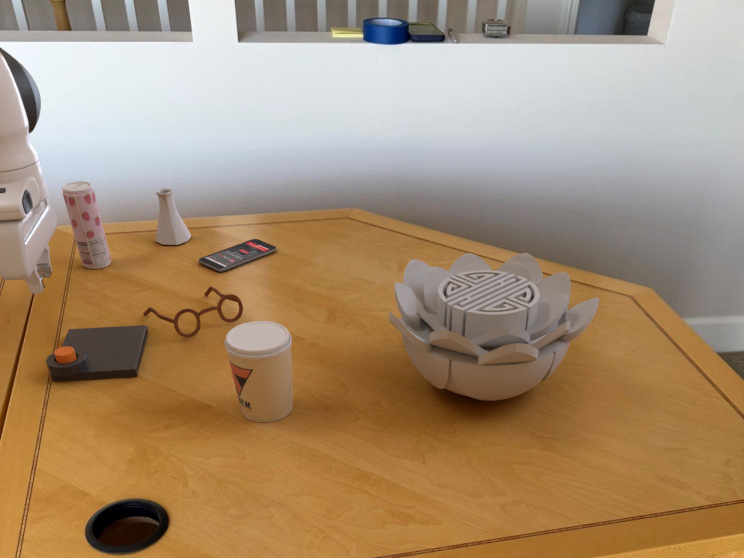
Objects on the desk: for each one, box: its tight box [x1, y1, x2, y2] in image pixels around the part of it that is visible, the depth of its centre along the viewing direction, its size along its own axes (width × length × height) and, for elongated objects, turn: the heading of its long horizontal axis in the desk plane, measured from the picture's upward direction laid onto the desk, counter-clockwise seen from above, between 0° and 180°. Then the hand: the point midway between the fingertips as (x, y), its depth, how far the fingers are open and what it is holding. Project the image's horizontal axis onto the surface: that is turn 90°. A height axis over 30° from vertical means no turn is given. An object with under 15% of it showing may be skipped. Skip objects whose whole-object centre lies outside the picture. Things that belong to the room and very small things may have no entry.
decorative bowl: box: [388, 252, 600, 402], centre depth 118 cm, size 30×30×15 cm
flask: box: [154, 187, 192, 246], centre depth 161 cm, size 7×7×10 cm
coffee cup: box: [224, 320, 294, 423], centre depth 112 cm, size 9×9×12 cm
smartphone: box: [198, 238, 277, 273], centre depth 157 cm, size 7×1×15 cm
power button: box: [53, 346, 77, 364], centre depth 121 cm, size 3×3×2 cm
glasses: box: [142, 286, 244, 339], centre depth 136 cm, size 13×13×5 cm
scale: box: [45, 324, 149, 383], centre depth 126 cm, size 14×16×3 cm
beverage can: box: [61, 180, 112, 270], centre depth 150 cm, size 6×6×15 cm
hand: (42, 283), depth 113 cm, fingers open, 4 cm apart
